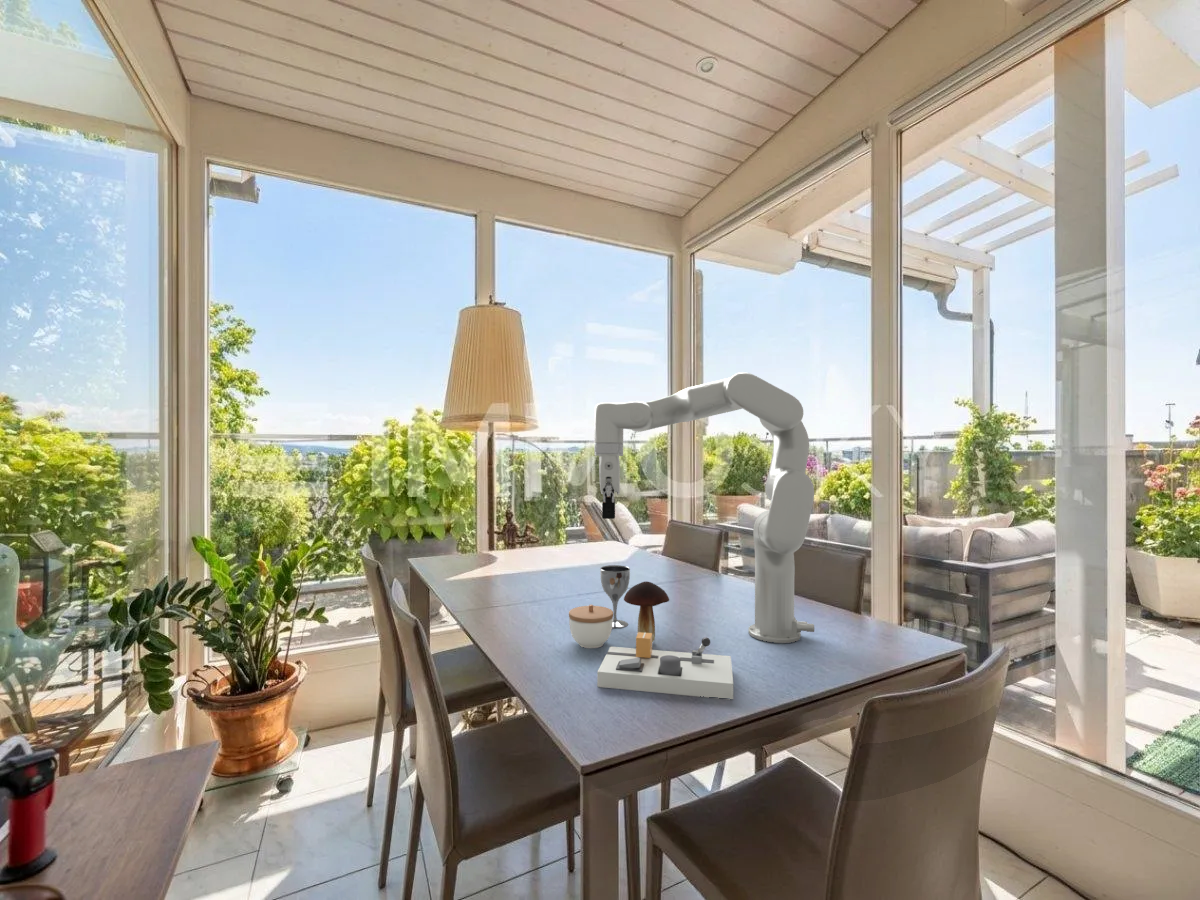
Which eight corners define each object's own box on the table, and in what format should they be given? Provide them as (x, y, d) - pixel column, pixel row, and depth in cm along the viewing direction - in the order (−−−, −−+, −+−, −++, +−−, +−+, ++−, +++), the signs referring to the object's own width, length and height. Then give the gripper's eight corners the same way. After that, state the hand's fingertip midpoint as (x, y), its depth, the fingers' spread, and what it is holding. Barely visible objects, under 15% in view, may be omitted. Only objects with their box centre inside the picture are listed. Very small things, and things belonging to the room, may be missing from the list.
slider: (652, 651, 116) (652, 632, 116) (650, 658, 112) (650, 638, 113) (638, 650, 117) (638, 631, 117) (635, 656, 113) (636, 637, 113)
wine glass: (630, 629, 141) (630, 571, 141) (599, 628, 141) (600, 571, 141) (629, 619, 149) (629, 565, 149) (600, 619, 149) (600, 565, 149)
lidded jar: (560, 641, 132) (560, 603, 132) (596, 633, 138) (596, 596, 138) (584, 655, 123) (584, 614, 123) (622, 646, 129) (622, 606, 129)
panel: (730, 670, 115) (730, 648, 115) (733, 699, 101) (733, 675, 101) (610, 660, 120) (610, 639, 120) (597, 686, 106) (597, 663, 106)
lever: (700, 658, 113) (712, 639, 113) (699, 662, 111) (712, 642, 111) (692, 653, 113) (704, 634, 113) (692, 657, 112) (704, 637, 111)
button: (681, 675, 109) (681, 656, 109) (679, 683, 105) (679, 663, 105) (661, 673, 109) (661, 654, 109) (659, 681, 105) (659, 662, 105)
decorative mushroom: (638, 655, 123) (639, 589, 123) (615, 640, 133) (615, 579, 133) (678, 647, 128) (678, 584, 128) (652, 633, 138) (653, 574, 138)
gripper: (624, 450, 132) (624, 520, 132) (622, 450, 149) (622, 512, 149) (593, 450, 132) (593, 520, 132) (595, 450, 149) (595, 512, 149)
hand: (608, 516), depth 140 cm, fingers open, 9 cm apart
